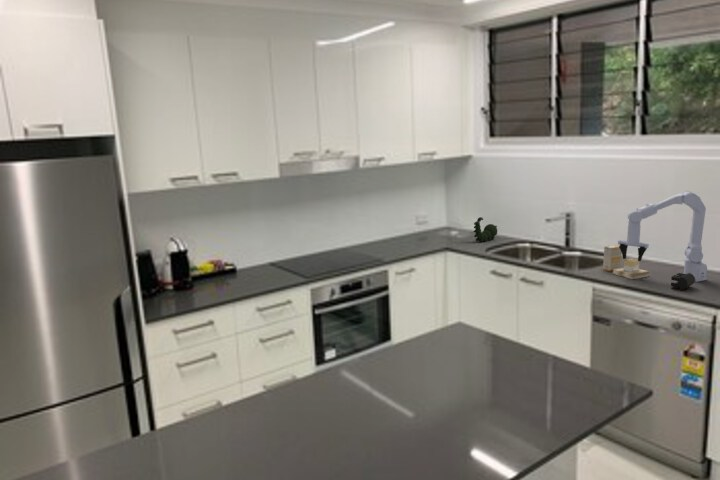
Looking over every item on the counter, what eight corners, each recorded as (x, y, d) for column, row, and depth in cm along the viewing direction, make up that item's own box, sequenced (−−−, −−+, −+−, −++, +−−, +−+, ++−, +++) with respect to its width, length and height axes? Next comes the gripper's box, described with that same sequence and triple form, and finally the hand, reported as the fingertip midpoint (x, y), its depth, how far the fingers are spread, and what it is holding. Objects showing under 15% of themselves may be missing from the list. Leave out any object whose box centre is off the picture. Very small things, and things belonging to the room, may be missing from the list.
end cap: (686, 292, 248) (687, 278, 247) (670, 288, 253) (671, 275, 252) (694, 287, 254) (696, 274, 253) (678, 284, 260) (679, 271, 258)
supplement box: (613, 267, 294) (615, 244, 292) (621, 269, 290) (622, 246, 287) (602, 269, 292) (603, 245, 289) (609, 271, 287) (610, 247, 285)
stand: (649, 276, 276) (649, 271, 275) (632, 279, 271) (632, 274, 270) (629, 271, 286) (629, 266, 286) (612, 273, 282) (613, 269, 281)
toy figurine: (482, 246, 366) (502, 237, 382) (481, 219, 361) (501, 212, 377) (471, 244, 373) (491, 236, 389) (469, 218, 368) (490, 210, 384)
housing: (632, 272, 274) (633, 261, 273) (623, 270, 277) (624, 260, 276) (638, 269, 279) (639, 259, 278) (629, 268, 282) (630, 258, 281)
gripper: (651, 234, 271) (649, 260, 274) (623, 231, 282) (621, 256, 285) (645, 236, 267) (643, 263, 270) (616, 233, 278) (615, 258, 281)
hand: (631, 259), depth 277 cm, fingers open, 7 cm apart
